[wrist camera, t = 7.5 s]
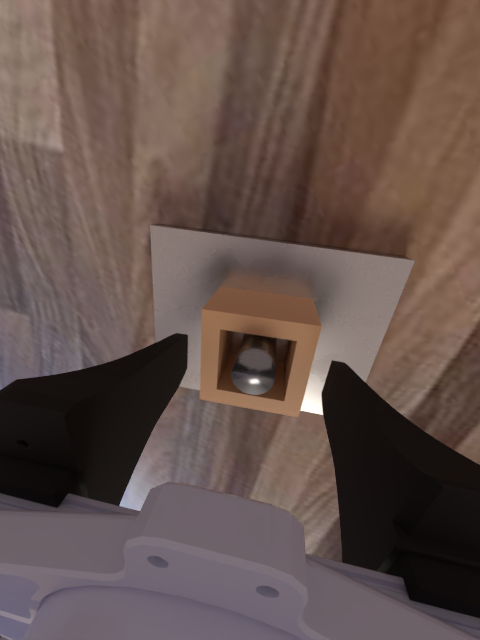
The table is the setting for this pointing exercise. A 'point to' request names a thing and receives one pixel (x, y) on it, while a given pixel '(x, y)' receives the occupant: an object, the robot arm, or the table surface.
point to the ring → (265, 320)
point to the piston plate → (277, 278)
